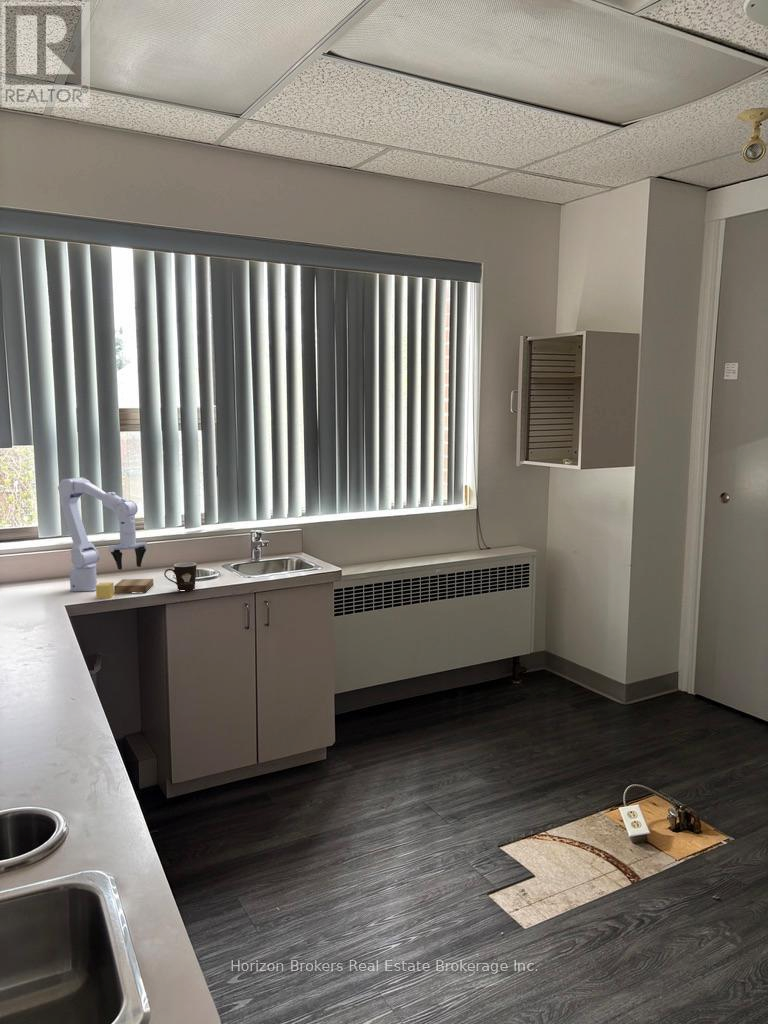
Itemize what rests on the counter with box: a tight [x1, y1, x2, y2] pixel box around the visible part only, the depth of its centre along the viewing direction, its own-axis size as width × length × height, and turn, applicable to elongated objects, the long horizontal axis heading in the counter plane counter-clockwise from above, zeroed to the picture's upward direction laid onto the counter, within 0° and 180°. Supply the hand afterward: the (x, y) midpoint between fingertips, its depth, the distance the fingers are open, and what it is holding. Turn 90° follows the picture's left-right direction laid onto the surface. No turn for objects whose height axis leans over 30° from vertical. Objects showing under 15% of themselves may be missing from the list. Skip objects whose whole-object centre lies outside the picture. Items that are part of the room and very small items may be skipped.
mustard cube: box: [95, 582, 115, 599], centre depth 291 cm, size 5×5×5 cm
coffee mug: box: [163, 562, 198, 592], centre depth 301 cm, size 12×9×10 cm
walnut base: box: [114, 578, 154, 595], centre depth 302 cm, size 12×12×3 cm
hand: (129, 567), depth 297 cm, fingers open, 7 cm apart
